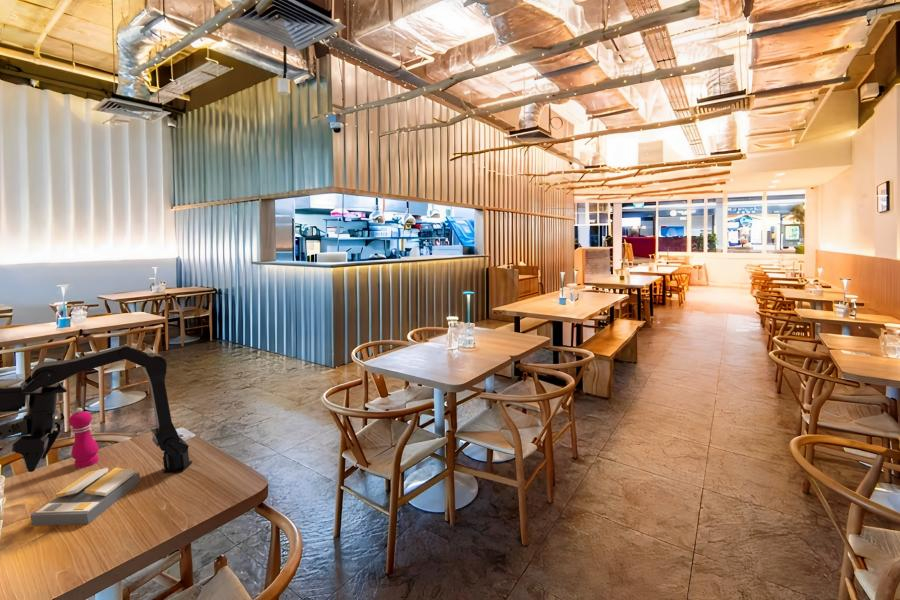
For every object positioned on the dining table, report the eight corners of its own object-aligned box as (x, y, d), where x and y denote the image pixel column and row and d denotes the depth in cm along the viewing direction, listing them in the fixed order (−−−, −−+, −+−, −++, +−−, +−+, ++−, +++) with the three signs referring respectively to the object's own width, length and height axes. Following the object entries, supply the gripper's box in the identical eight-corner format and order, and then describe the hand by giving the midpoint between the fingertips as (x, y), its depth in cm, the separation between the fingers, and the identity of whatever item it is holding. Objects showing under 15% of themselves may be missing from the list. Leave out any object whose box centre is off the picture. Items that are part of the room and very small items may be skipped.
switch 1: (108, 470, 136) (107, 467, 136) (76, 492, 124) (75, 489, 124) (90, 474, 136) (89, 471, 136) (56, 497, 124) (55, 494, 124)
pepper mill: (84, 469, 146) (76, 412, 143) (67, 467, 148) (58, 411, 145) (105, 458, 153) (97, 404, 150) (89, 457, 155) (81, 403, 152)
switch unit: (140, 481, 138) (138, 470, 137) (88, 523, 118) (86, 511, 117) (92, 483, 138) (90, 472, 137) (32, 525, 117) (29, 513, 117)
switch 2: (135, 473, 136) (135, 470, 136) (105, 496, 125) (106, 492, 124) (115, 470, 136) (115, 467, 136) (84, 492, 124) (84, 489, 124)
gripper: (15, 400, 125) (10, 454, 125) (-14, 420, 108) (-19, 482, 108) (66, 399, 130) (61, 451, 130) (46, 418, 114) (40, 477, 114)
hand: (36, 464), depth 121 cm, fingers open, 9 cm apart
